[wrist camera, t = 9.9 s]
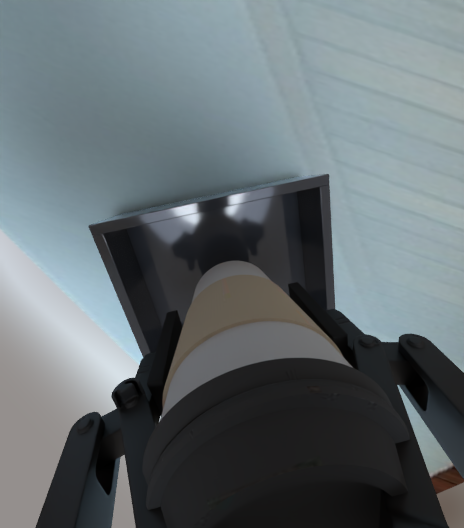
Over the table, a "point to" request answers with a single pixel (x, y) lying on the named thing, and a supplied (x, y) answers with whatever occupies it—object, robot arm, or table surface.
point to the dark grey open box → (217, 247)
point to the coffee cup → (267, 418)
